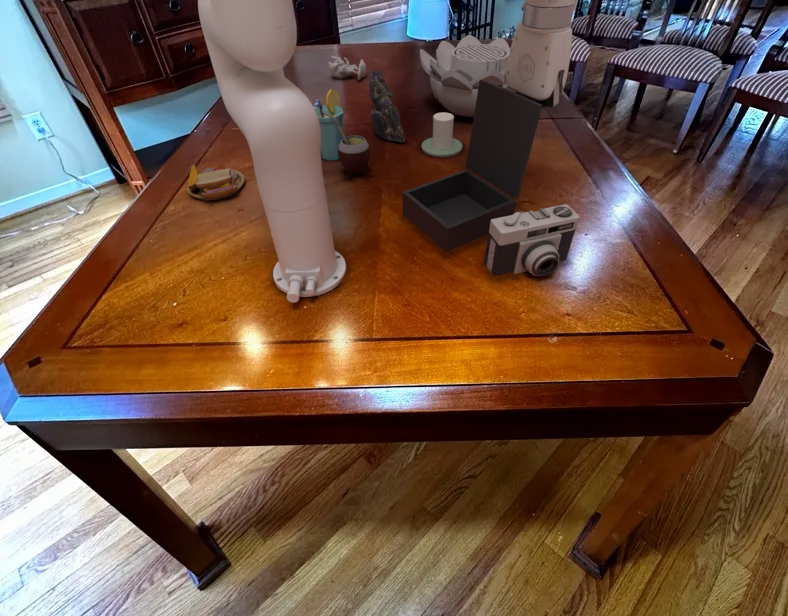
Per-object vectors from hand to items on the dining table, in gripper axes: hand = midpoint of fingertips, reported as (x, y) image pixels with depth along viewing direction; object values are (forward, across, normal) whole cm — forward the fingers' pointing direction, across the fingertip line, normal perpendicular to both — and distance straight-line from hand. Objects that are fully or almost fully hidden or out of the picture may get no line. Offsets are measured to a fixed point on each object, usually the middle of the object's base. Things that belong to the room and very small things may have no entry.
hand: (526, 130), depth 83 cm
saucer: (+14, -27, +1) cm, 31 cm away
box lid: (0, 0, -7) cm, 7 cm away
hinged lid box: (+14, 0, -15) cm, 21 cm away
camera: (+14, +18, -14) cm, 27 cm away
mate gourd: (+14, -28, -23) cm, 39 cm away
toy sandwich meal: (+14, -40, -51) cm, 66 cm away
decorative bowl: (+15, -40, +23) cm, 48 cm away
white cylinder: (+14, -28, +1) cm, 31 cm away
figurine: (+15, -85, +6) cm, 87 cm away
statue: (+14, -40, -6) cm, 43 cm away
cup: (+14, -39, -24) cm, 48 cm away
